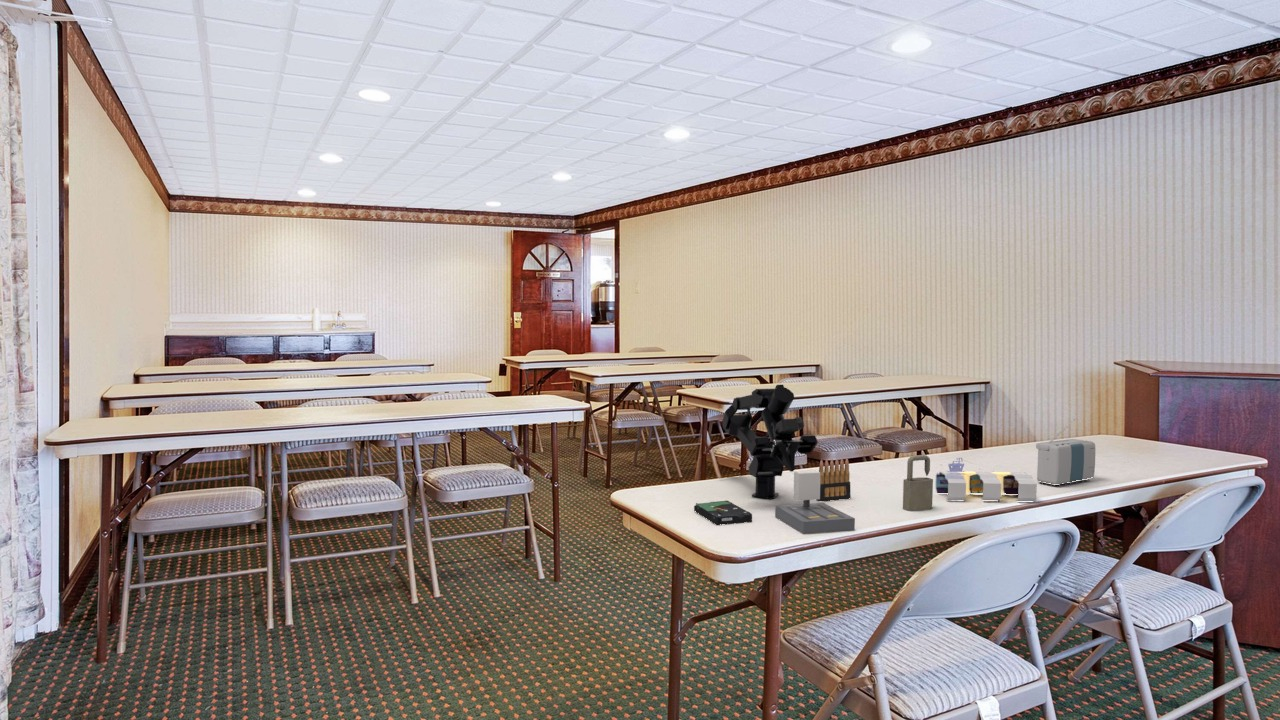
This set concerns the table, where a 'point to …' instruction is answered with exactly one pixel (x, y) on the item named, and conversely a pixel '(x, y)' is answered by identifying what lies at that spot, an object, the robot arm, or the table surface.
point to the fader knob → (806, 486)
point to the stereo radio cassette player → (1065, 460)
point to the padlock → (917, 487)
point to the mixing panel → (814, 518)
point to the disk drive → (723, 512)
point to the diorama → (984, 483)
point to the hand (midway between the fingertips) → (792, 470)
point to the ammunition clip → (834, 481)
